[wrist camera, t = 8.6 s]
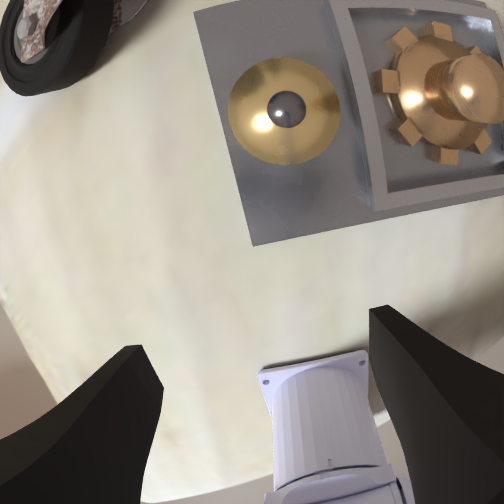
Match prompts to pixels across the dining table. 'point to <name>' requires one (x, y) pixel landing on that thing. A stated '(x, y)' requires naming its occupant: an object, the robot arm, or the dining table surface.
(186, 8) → the dining table surface
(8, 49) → the caster wheel
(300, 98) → the carrier
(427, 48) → the gear
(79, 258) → the dining table surface
